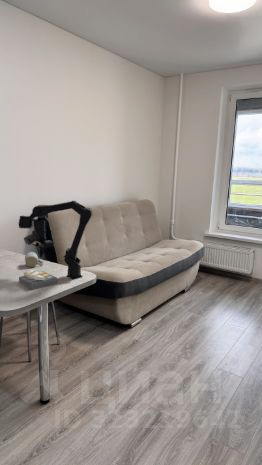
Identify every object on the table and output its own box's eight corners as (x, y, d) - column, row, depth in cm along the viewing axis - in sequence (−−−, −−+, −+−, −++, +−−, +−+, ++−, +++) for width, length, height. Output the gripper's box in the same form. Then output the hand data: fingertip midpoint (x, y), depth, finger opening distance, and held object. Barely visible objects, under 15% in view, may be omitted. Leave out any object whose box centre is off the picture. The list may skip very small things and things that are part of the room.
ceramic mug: (25, 268, 190) (25, 255, 188) (25, 264, 197) (24, 252, 196) (43, 267, 193) (43, 254, 192) (42, 263, 201) (42, 251, 199)
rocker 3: (41, 278, 165) (42, 275, 165) (44, 280, 163) (45, 276, 163) (32, 278, 161) (33, 274, 161) (35, 279, 159) (36, 276, 159)
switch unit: (43, 276, 177) (42, 270, 176) (56, 283, 167) (56, 277, 167) (19, 282, 167) (18, 276, 166) (32, 289, 157) (32, 283, 157)
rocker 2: (37, 274, 168) (36, 271, 167) (40, 275, 166) (39, 272, 165) (28, 277, 164) (27, 274, 164) (31, 279, 162) (30, 276, 162)
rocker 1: (33, 271, 171) (32, 268, 170) (36, 273, 169) (35, 270, 168) (24, 275, 167) (23, 272, 167) (27, 277, 165) (26, 274, 165)
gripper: (17, 227, 172) (18, 255, 175) (34, 233, 160) (35, 263, 163) (35, 225, 180) (36, 252, 183) (54, 230, 167) (54, 259, 171)
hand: (40, 256), depth 175 cm, fingers closed
